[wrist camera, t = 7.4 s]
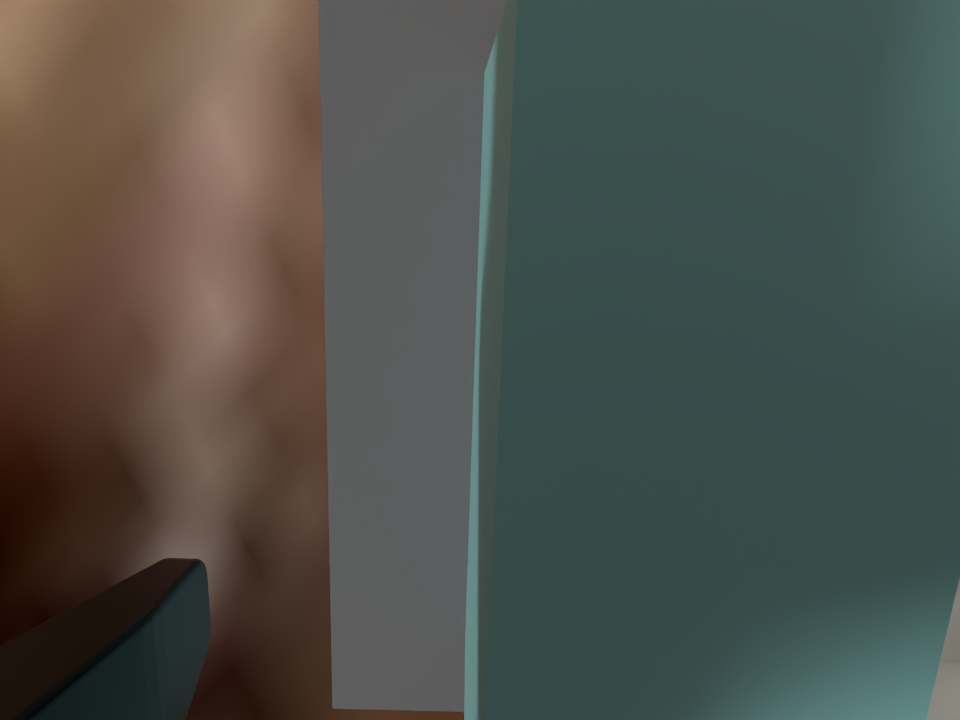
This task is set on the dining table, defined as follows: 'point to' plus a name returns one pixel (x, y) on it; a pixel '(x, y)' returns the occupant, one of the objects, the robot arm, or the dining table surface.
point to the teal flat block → (716, 361)
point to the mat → (401, 337)
